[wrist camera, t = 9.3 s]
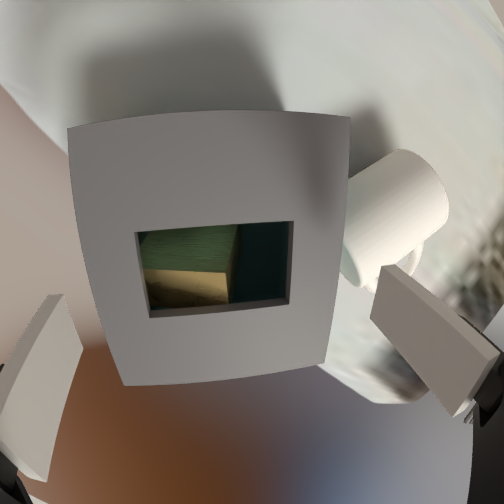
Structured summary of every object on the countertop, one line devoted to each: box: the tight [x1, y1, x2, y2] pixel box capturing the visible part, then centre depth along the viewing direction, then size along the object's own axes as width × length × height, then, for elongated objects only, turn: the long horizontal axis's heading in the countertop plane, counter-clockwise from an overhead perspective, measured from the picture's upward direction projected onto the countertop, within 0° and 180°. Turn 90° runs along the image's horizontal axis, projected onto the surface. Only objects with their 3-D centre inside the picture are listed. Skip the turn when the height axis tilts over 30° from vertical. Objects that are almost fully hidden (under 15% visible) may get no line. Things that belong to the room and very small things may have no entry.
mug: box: [340, 149, 449, 293], centre depth 24 cm, size 12×10×8 cm
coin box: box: [67, 110, 350, 386], centre depth 20 cm, size 16×14×10 cm
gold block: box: [139, 224, 243, 309], centre depth 20 cm, size 6×3×7 cm, turn 90°
